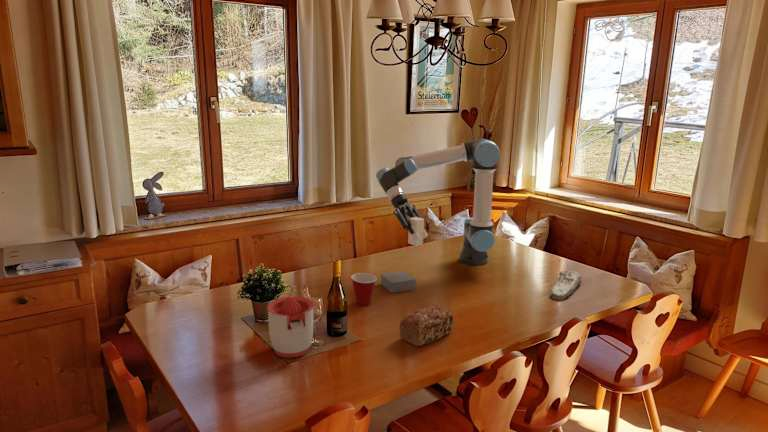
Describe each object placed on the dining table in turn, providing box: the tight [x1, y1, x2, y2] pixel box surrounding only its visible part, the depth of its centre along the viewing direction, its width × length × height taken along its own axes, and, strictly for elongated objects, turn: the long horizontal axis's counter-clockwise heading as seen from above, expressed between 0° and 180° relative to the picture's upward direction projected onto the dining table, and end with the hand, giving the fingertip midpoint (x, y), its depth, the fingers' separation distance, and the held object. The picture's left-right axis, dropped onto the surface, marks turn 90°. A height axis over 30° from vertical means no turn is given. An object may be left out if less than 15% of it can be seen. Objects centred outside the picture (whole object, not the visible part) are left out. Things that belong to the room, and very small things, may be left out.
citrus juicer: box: [266, 296, 315, 359], centre depth 181 cm, size 16×17×20 cm
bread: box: [399, 305, 454, 347], centre depth 196 cm, size 19×11×10 cm, turn 132°
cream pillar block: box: [407, 217, 425, 246], centre depth 247 cm, size 5×5×12 cm
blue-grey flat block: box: [380, 270, 417, 293], centre depth 243 cm, size 12×12×5 cm
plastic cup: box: [350, 272, 378, 307], centre depth 223 cm, size 11×11×12 cm
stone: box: [549, 270, 582, 301], centre depth 245 cm, size 35×5×10 cm
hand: (421, 238), depth 245 cm, fingers closed on cream pillar block, 5 cm apart
